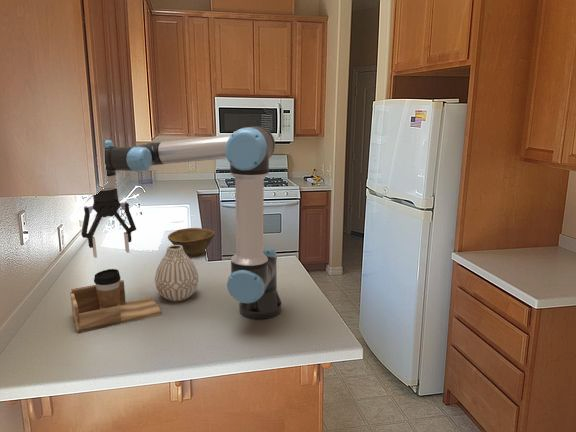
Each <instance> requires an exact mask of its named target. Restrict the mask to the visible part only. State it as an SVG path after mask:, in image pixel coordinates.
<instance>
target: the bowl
mask: <svg viewBox="0 0 576 432" xmlns="http://www.w3.org/2000/svg"><path fill="white" fill-rule="evenodd" d="M214 236H215V231H214V230H212V229H208V228H201V227H200V228H199V227H187V228H181V229H180V228H179V229H177V230H175V231H173V232H171V233H169V234H168V236H167V239H168V241H170V243H171V244H172V245H181V246H182V247H183V249H184V251H185V253H186V255H187V256H188V257H199V256H202V254H203V253H204V252H205V250H206V249H207V248H208V246H209V245H210V244H211V242H212V241H213V238H214Z"/></svg>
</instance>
